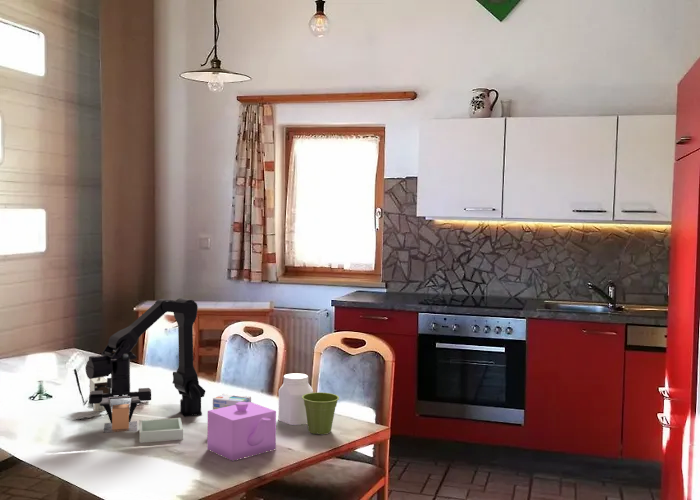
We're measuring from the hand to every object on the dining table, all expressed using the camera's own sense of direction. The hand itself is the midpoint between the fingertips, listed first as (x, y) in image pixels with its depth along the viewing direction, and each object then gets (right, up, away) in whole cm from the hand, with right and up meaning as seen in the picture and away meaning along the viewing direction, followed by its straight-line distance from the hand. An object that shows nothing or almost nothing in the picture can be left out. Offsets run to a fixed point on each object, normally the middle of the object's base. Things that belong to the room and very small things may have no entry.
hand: (120, 422), depth 227 cm
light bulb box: (+35, -3, 0) cm, 36 cm away
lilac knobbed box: (+42, -4, -19) cm, 46 cm away
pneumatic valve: (-13, -1, +19) cm, 23 cm away
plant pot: (+64, -3, 0) cm, 64 cm away
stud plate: (0, -2, 0) cm, 2 cm away
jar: (+55, -3, +12) cm, 56 cm away
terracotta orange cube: (0, -1, 0) cm, 1 cm away
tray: (+15, -3, -7) cm, 16 cm away
